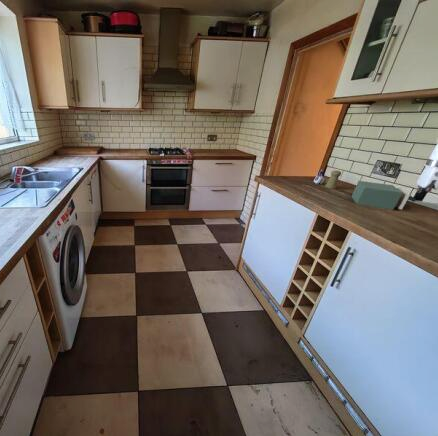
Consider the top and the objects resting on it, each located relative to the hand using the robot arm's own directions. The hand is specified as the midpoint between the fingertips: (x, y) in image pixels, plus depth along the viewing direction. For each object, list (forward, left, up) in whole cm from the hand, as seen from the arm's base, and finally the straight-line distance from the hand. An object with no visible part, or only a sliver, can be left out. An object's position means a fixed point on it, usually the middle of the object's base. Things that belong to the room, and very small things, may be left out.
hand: (417, 200), depth 116 cm
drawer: (+10, 0, -4) cm, 11 cm away
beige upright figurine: (+32, -23, -5) cm, 40 cm away
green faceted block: (+16, 0, -5) cm, 17 cm away
